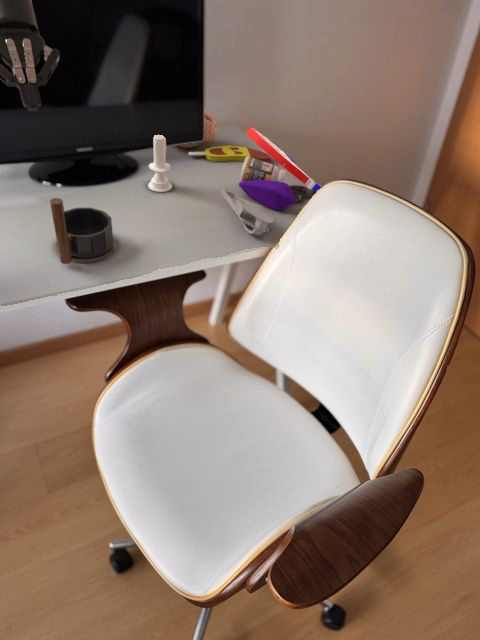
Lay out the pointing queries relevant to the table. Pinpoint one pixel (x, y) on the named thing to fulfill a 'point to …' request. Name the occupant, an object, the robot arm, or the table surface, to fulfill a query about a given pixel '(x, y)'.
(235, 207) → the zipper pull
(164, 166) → the candle
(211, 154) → the popsicle
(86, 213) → the wooden handled pot
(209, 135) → the anatomical model
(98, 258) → the round base
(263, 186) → the purple lump
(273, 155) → the red toothbrush
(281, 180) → the pill bottle
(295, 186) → the corroded twin loop
